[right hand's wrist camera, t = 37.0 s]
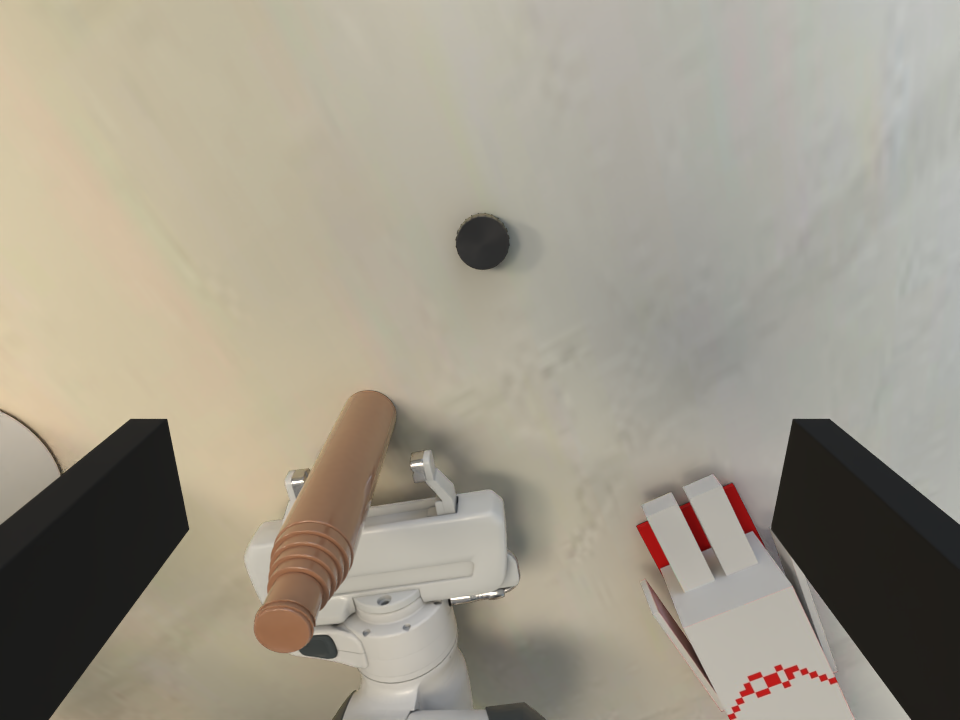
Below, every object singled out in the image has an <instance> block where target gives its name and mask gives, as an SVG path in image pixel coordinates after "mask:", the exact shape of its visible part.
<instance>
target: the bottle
mask: <svg viewBox="0 0 960 720" xmlns="http://www.w3.org/2000/svg"><path fill="white" fill-rule="evenodd" d="M395 423H396V410H395V407H394V405H393V403H392V402H391V401H390V400H389V399H388V398H387V397H386V396H385V395H383V394H381V393H379V392H376V391H361V392H358V393H356V394H354V395H352V396H351V397H350V398H349V399H348V400H347V402H346V403H345V405H344V407H343V409H342V411H341V413H340V415H339V417H338V419H337V421H336V423H335V425H334V427H333V429H332V430H331V432H330V434H329V436H328V438H327V440H326V442H325V444H324V446H323V448H322V450H321V452H320V454H319V456H318V458H317V460H316V461H315V463H314V465H313V467H312V469H311V471H310V473H309V475H308V477H307V479H306V481H305V483H304V485H303V487H302V489H301V491H300V492H299V494H298V496H297V498H296V500H295V502H294V504H293V506H292V508H291V510H290V512H289V514H288V516H287V518H286V520H285V522H284V523H283V525H282V527H281V529H280V531H279V533H278V535H277V537H276V539H275V542H274V546H273V549H272V552H271V556H270V566H269V575H268V584H267V593H268V595H267V597H266V599H265V601H264V603H263V605H262V606H261V607H260V609H259V610H258V612H257V613H256V616H255V621H254V633H255V636H256V638H257V640H258V641H259V642H260V643H261V644H262V645H263V646H264V647H266V648H268V649H269V650H272V651H275V652H279V653H291V652H295V651H298V650H300V649H302V648H303V647H304V646H305V645H306V644H307V643H309V642H310V640H311V639H312V637H313V633H314V627H316V620H317V617H318V614H319V611H321V610H322V609H323V608H324V607H325V605H326V604H327V602H328V601H329V600H330V599H331V597H332V596H333V594H334V593H335V592H336V591H337V589H338V588H339V587H340V585H341V584H342V583H343V582H344V580H345V579H346V577H347V575H348V572H349V571H350V569H351V567H352V564H353V561H354V558H355V555H356V551H357V548H358V545H359V541H360V538H361V535H362V532H363V528H364V525H365V522H366V518H367V515H368V512H369V509H370V505H371V502H372V499H373V495H374V492H375V489H376V485H377V482H378V479H379V476H380V472H381V469H382V466H383V462H384V459H385V456H386V453H387V449H388V446H389V443H390V439H391V436H392V433H393V429H394V426H395Z"/></svg>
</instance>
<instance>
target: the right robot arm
mask: <svg viewBox="0 0 960 720" xmlns="http://www.w3.org/2000/svg"><path fill="white" fill-rule="evenodd" d="M188 530H189V526H188V521H187V516H186V511H185V506H184V501H183V496H182V491H181V486H180V481H179V476H178V471H177V466H176V461H175V456H174V451H173V446H172V441H171V436H170V431H169V426H168V421H167V419H130V420H129V421H127V422H126V423H125V424H124V425H123V426H121V427H120V428H119V429H118V430H116V431H115V432H114V433H113V434H111V435H110V436H109V437H108V438H107V439H105V440H104V441H103V442H102V443H100V444H99V445H98V446H97V447H95V448H94V449H93V450H92V451H91V452H89V453H88V454H87V455H86V456H84V457H83V458H82V459H81V460H79V461H78V462H77V463H76V464H75V465H73V466H72V467H71V468H70V469H68V470H67V471H66V472H65V473H63V474H62V475H61V476H60V477H59V478H57V479H56V480H55V481H54V482H52V483H51V484H50V485H49V486H47V487H46V488H45V489H44V490H43V491H41V492H40V493H39V494H38V495H36V496H35V497H34V498H33V499H31V500H30V501H29V502H28V503H26V504H25V505H24V506H23V507H22V508H20V509H19V510H18V511H17V512H15V513H14V514H13V515H12V516H10V517H9V518H8V519H7V520H6V521H4V522H3V523H2V524H1V525H0V720H49V719H50V717H51V716H52V715H53V713H54V712H55V710H56V709H57V708H58V706H59V705H60V704H61V702H62V701H63V700H64V698H65V697H66V696H67V694H68V693H69V692H70V690H71V689H72V687H73V686H74V685H75V683H76V682H77V681H78V679H79V678H80V677H81V675H82V674H83V673H84V671H85V670H86V668H87V667H88V666H89V664H90V663H91V662H92V660H93V659H94V658H95V656H96V655H97V654H98V652H99V651H100V650H101V648H102V647H103V645H104V644H105V643H106V641H107V640H108V639H109V637H110V636H111V635H112V633H113V632H114V631H115V629H116V628H117V626H118V625H119V624H120V622H121V621H122V620H123V618H124V617H125V616H126V614H127V613H128V612H129V610H130V609H131V608H132V606H133V605H134V603H135V602H136V601H137V599H138V598H139V597H140V595H141V594H142V593H143V591H144V590H145V589H146V587H147V586H148V584H149V583H150V582H151V580H152V579H153V578H154V576H155V575H156V574H157V572H158V571H159V570H160V568H161V567H162V565H163V564H164V563H165V561H166V560H167V559H168V557H169V556H170V555H171V553H172V552H173V551H174V549H175V548H176V547H177V545H178V544H179V542H180V541H181V540H182V538H183V537H184V536H185V534H186V533H187V532H188ZM771 530H772V532H773V533H774V534H775V536H776V537H777V538H778V540H779V541H780V542H781V544H782V545H783V547H784V548H785V549H786V551H787V552H788V553H789V555H790V556H791V557H792V559H793V560H794V561H795V563H796V564H797V565H798V567H799V568H800V570H801V571H802V572H803V574H804V575H805V576H806V578H807V579H808V580H809V582H810V583H811V584H812V586H813V587H814V589H815V590H816V591H817V593H818V594H819V595H820V597H821V598H822V599H823V601H824V602H825V603H826V605H827V606H828V608H829V609H830V610H831V612H832V613H833V614H834V616H835V617H836V618H837V620H838V621H839V622H840V624H841V625H842V626H843V628H844V629H845V631H846V632H847V633H848V635H849V636H850V637H851V639H852V640H853V641H854V643H855V644H856V645H857V647H858V648H859V650H860V651H861V652H862V654H863V655H864V656H865V658H866V659H867V660H868V662H869V663H870V664H871V666H872V667H873V668H874V670H875V671H876V673H877V674H878V675H879V677H880V678H881V679H882V681H883V682H884V683H885V685H886V686H887V687H888V689H889V690H890V692H891V693H892V694H893V696H894V697H895V698H896V700H897V701H898V702H899V704H900V705H901V706H902V708H903V709H904V710H905V712H906V713H907V715H908V716H909V717H910V719H911V720H960V525H959V524H958V523H957V522H956V521H954V520H953V519H952V518H951V517H950V516H948V515H947V514H946V513H945V512H943V511H942V510H941V509H940V508H938V507H937V506H936V505H935V504H934V503H932V502H931V501H930V500H929V499H927V498H926V497H925V496H924V495H922V494H921V493H920V492H919V491H917V490H916V489H915V488H914V487H913V486H911V485H910V484H909V483H908V482H906V481H905V480H904V479H903V478H901V477H900V476H899V475H898V474H897V473H895V472H894V471H893V470H892V469H890V468H889V467H888V466H887V465H885V464H884V463H883V462H882V461H881V460H879V459H878V458H877V457H876V456H874V455H873V454H872V453H871V452H869V451H868V450H867V449H866V448H865V447H863V446H862V445H861V444H860V443H858V442H857V441H856V440H855V439H853V438H852V437H851V436H850V435H849V434H847V433H846V432H845V431H844V430H842V429H841V428H840V427H839V426H837V425H836V424H835V423H834V422H833V421H831V420H830V419H793V421H792V426H791V431H790V436H789V441H788V446H787V451H786V456H785V461H784V466H783V471H782V476H781V481H780V486H779V491H778V496H777V501H776V506H775V511H774V516H773V521H772V526H771Z"/></svg>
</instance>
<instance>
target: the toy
mask: <svg viewBox="0 0 960 720" xmlns="http://www.w3.org/2000/svg"><path fill="white" fill-rule="evenodd" d="M682 488H683V490H684V492H685V494H686V496H687V498H688V500H689V503H686V504H684V505H682V506H680V507H679V505H678V503H677V502H676V500H675V498H674V496H673V494H672V492H670V493H667V494H665V495H663V496H660V497H658V498H656V499H653V500H651V501H649V502H646V503H644V504H642V505H641V506H642V508H643V511H644V513H645V516H646V518H647V520H648V521H646V522H644V523H642V524H640V525H637V529H638V531H639V533H640V535H641V536H642V538H643V540H644V542H645V544H646V546H647V548H648V550H649V551H650V553H651V555H652V557H653V559H654V561H655V563H656V565H657V566H658V568H659V570H660V572H661V574H662V576H663V578H664V580H665V583H666V585H667V588H668V590H669V593H670V596H671V598H672V601H673V603H674V606H675V609H676V611H677V614H678V616H679V619H680V621H681V624H682V627H683V629H684V631H685V633H686V635H687V637H688V639H689V641H690V642H689V641H688V639H687V638H686V636H685V635H684V633H683V632H682V631H681V629H680V628H679V626H678V625H677V623H676V622H675V621H674V619H673V618H672V616H671V615H670V613H669V612H668V611H667V609H666V608H665V606H664V605H663V603H662V602H661V601H660V599H659V598H658V596H657V595H656V593H655V592H654V591H653V589H652V588H651V586H650V585H649V583H648V582H647V581H646V579H644V580H642V581H640V583H641V586H642V589H643V591H644V594H645V596H646V599H647V601H648V604H649V607H650V609H651V612H652V614H653V616H654V617H655V619H656V620H657V622H658V623H659V624H660V626H661V627H662V629H663V630H664V631H665V633H666V634H667V636H668V637H669V638H670V640H671V641H672V643H673V644H674V646H675V647H676V648H677V650H678V651H679V653H680V654H681V655H682V657H683V658H684V660H685V661H686V662H687V664H688V665H689V667H690V668H691V670H692V671H693V672H694V674H695V675H696V677H697V678H698V679H699V681H700V682H701V684H702V685H703V686H704V688H705V689H706V691H707V692H708V694H709V695H710V696H711V698H712V699H713V701H714V702H715V703H716V705H717V706H718V708H719V709H720V710H721V712H722V711H724V710H725V711H726V713H727V715H728V717H729V719H730V720H855V719H854V717H853V714H852V712H851V710H850V708H849V706H848V704H847V702H846V699H845V697H844V695H843V693H842V691H841V689H840V687H839V684H838V682H837V680H836V678H835V676H834V674H833V673H835V672H838V671H837V668H836V665H835V662H834V659H833V656H832V653H831V650H830V647H829V644H828V642H827V639H826V636H825V633H824V630H823V627H822V624H821V621H820V618H819V615H818V612H817V609H816V606H815V603H814V601H813V598H812V595H811V592H810V589H809V586H808V583H807V580H806V577H805V575H804V574H803V572H802V571H801V570H800V568H799V567H798V565H797V564H796V563H795V561H794V560H793V559H792V557H791V556H790V555H789V553H788V552H787V551H786V549H785V548H784V547H783V545H782V544H781V542H780V541H779V540H778V538H777V537H776V536H775V534H774V533H773V532H772V530H771V526H770V527H769V528H770V531H771V534H772V537H773V540H774V543H775V546H776V548H777V551H778V554H779V557H780V560H781V563H782V566H783V568H784V571H785V574H786V576H785V575H784V573H783V572H782V571H781V569H780V568H779V567H778V565H777V564H776V563H775V561H774V560H773V558H772V557H771V556H770V554H769V553H768V552H767V550H766V548H765V546H764V544H763V542H762V540H761V538H760V536H759V534H758V532H757V530H756V528H755V526H754V524H753V522H752V520H751V518H750V516H749V514H748V512H747V510H746V508H745V506H744V504H743V502H742V500H741V498H740V496H739V494H738V492H737V490H736V488H735V486H734V485H733V484H732V483H731V484H729V485H727V486H724V487H722V485H721V484H720V482H719V481H718V480H717V478H716V477H715V476H714V474H712V475H709V476H707V477H705V478H702V479H700V480H698V481H695V482H693V483H691V484H688V485H686V486H684V487H682ZM786 577H787V578H786Z"/></svg>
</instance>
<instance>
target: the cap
mask: <svg viewBox="0 0 960 720" xmlns="http://www.w3.org/2000/svg"><path fill="white" fill-rule="evenodd" d="M507 232H508V231H507V228H505V226H504V224H503V223H502V222H501V221H500V220H499V218H496V217H494V216H493V215H492V214H491V215H489V214H486V213H485V214H479V213H478V214H476V215H473V216H472V215H471V217H469V218H468V219H465V221H464V222H463V224H461V226H460V228H459V230H458V231H457V236H456V247H457V251H458V254H459V256H460V258H461V259H462V260H463V261H464V262H465V263H466V264H467V265H468V266H470V267H472V268H475V269H480V270H485V269H490V268H493V267H495V266H497V265H498V264H499V263H501V262H502V260H503V259H504V258H505V256H506V254H507V253H508V248H509V235H508V234H507Z"/></svg>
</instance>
